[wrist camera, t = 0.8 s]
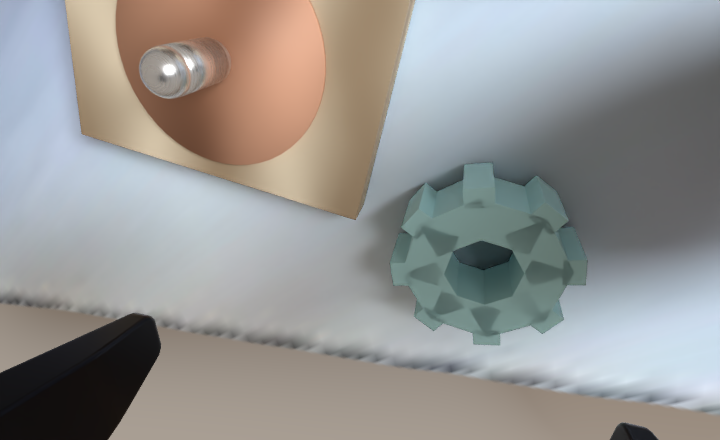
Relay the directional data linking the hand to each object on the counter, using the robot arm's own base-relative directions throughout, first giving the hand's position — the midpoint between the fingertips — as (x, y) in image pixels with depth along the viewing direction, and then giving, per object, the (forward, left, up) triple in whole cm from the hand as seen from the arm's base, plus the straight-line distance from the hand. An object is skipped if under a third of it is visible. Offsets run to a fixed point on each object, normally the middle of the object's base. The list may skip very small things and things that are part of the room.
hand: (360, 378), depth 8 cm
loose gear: (-3, +3, -11) cm, 12 cm away
